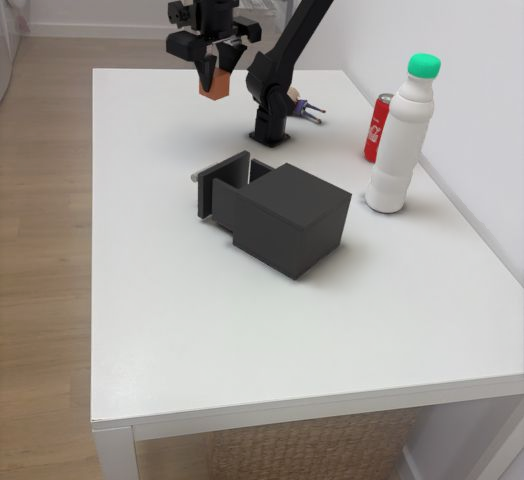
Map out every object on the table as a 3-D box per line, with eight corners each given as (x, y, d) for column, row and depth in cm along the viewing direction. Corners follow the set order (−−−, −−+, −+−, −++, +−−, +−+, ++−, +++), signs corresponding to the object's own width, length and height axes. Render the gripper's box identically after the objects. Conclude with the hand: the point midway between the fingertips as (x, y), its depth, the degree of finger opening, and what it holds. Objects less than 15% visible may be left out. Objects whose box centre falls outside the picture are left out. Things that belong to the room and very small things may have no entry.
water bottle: (404, 199, 99) (452, 54, 80) (399, 218, 94) (448, 69, 76) (368, 189, 100) (406, 44, 81) (360, 208, 95) (399, 59, 77)
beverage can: (387, 166, 107) (404, 106, 98) (361, 161, 107) (376, 101, 98) (388, 154, 110) (404, 95, 101) (363, 149, 110) (377, 90, 102)
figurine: (330, 104, 116) (274, 79, 120) (323, 100, 112) (266, 75, 117) (318, 131, 118) (264, 105, 123) (312, 127, 115) (256, 101, 119)
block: (213, 88, 100) (214, 65, 97) (229, 95, 98) (230, 72, 95) (198, 93, 98) (198, 70, 95) (214, 101, 96) (215, 78, 93)
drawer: (179, 206, 89) (178, 163, 83) (224, 182, 95) (226, 140, 89) (250, 247, 83) (254, 203, 77) (293, 218, 89) (300, 176, 84)
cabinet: (232, 244, 84) (235, 190, 77) (279, 213, 92) (286, 162, 84) (294, 280, 80) (304, 227, 73) (339, 245, 87) (352, 193, 80)
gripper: (219, -30, 94) (216, 64, 106) (139, -16, 84) (146, 86, 95) (267, -14, 90) (259, 82, 101) (189, 4, 79) (190, 108, 91)
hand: (214, 88), depth 97 cm, fingers closed on block, 4 cm apart
